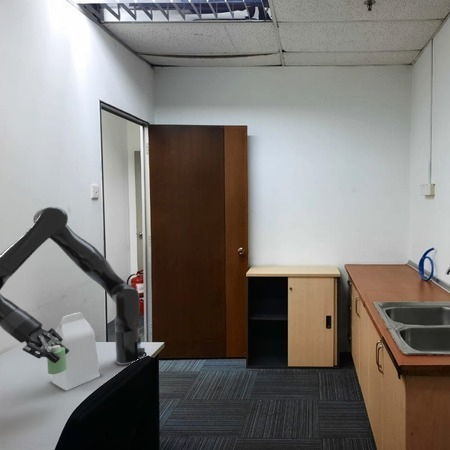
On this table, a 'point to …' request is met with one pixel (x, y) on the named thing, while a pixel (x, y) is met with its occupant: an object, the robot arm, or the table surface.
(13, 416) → the table surface
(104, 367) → the table surface
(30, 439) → the table surface
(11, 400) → the table surface
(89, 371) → the milk
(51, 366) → the soap bottle
